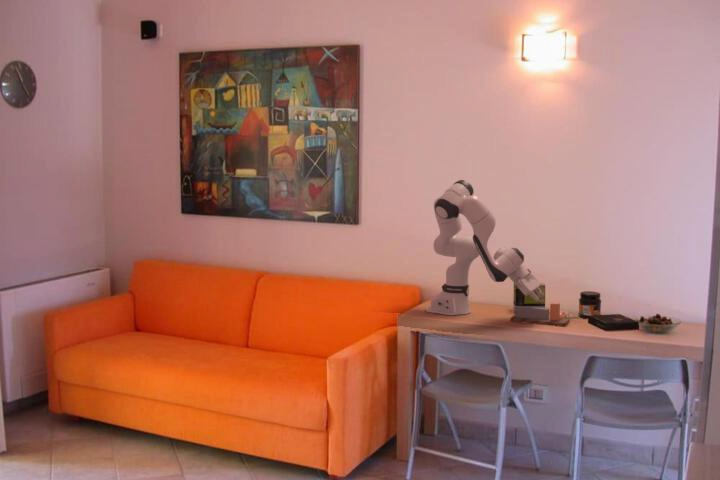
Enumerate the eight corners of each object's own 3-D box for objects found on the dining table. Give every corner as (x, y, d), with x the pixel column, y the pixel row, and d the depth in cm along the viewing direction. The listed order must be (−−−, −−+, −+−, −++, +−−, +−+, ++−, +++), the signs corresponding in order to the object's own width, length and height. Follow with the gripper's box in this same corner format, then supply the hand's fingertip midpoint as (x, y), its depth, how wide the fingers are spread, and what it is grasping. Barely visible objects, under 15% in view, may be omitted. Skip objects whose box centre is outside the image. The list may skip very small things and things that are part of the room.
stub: (549, 320, 369) (550, 303, 368) (550, 318, 371) (551, 302, 370) (558, 320, 368) (558, 304, 367) (559, 319, 370) (559, 303, 369)
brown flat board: (510, 321, 374) (510, 318, 373) (515, 317, 383) (515, 313, 382) (565, 326, 363) (565, 323, 362) (569, 322, 372) (569, 318, 371)
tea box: (542, 309, 400) (543, 281, 398) (545, 313, 390) (546, 284, 388) (512, 309, 401) (513, 280, 400) (514, 313, 391) (515, 284, 390)
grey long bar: (514, 316, 376) (514, 306, 376) (515, 315, 379) (516, 305, 378) (547, 320, 370) (548, 309, 369) (548, 318, 372) (549, 308, 371)
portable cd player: (639, 330, 358) (639, 321, 358) (605, 331, 355) (605, 323, 354) (620, 322, 374) (620, 314, 373) (587, 323, 371) (588, 315, 370)
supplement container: (584, 319, 377) (585, 295, 375) (574, 315, 387) (575, 291, 386) (604, 318, 379) (605, 294, 378) (593, 314, 389) (594, 290, 388)
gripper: (519, 275, 363) (540, 297, 360) (530, 269, 381) (549, 290, 378) (510, 283, 365) (530, 306, 362) (521, 277, 384) (540, 298, 381)
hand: (540, 298), depth 370 cm, fingers open, 8 cm apart
